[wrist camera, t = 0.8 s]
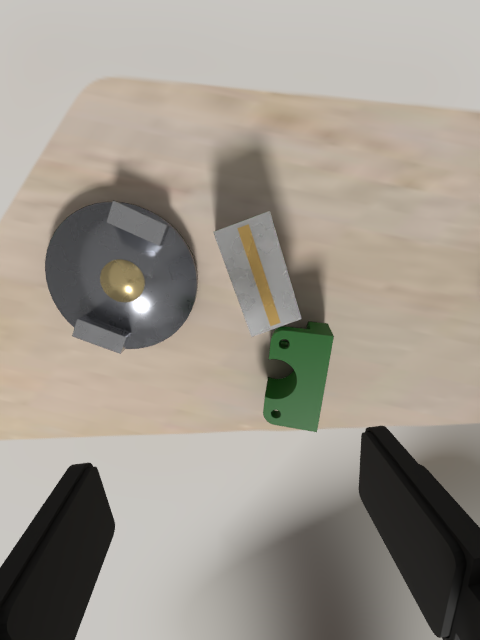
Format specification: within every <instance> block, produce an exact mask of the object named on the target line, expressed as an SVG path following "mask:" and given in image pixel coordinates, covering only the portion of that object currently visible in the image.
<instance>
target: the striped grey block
mask: <svg viewBox="0 0 480 640" xmlns="http://www.w3.org/2000/svg"><path fill="white" fill-rule="evenodd" d="M213 233H214V235H215V238H216V241H217V243H218V246H219V249H220V252H221V254H222V257H223V260H224V263H225V265H226V268H227V271H228V274H229V276H230V279H231V282H232V284H233V287H234V290H235V293H236V295H237V298H238V301H239V304H240V306H241V309H242V312H243V315H244V317H245V320H246V323H247V325H248V328H249V331H250V334H251V336H255V335H258V334H261V333H264V332H267V331H269V330H272V329H275V328H278V327H281V326H284V325H286V324H289V323H292V322H295V321H298V320H300V319H302V318H301V315H300V312H299V308H298V305H297V301H296V298H295V295H294V291H293V288H292V284H291V281H290V278H289V274H288V271H287V268H286V264H285V261H284V257H283V254H282V251H281V247H280V244H279V240H278V237H277V234H276V230H275V227H274V224H273V220H272V217H271V213H270V211H268V212H265V213H263V214H260V215H257V216H255V217H252V218H249V219H247V220H244V221H241V222H239V223H236V224H233V225H231V226H228V227H225V228H223V229H220V230H217V231H215V232H213Z"/></svg>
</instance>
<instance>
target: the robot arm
mask: <svg viewBox="0 0 480 640" xmlns="http://www.w3.org/2000/svg"><path fill="white" fill-rule="evenodd" d="M361 437H362V438H361V456H360V475H359V476H360V477H359V494H360V497H361V500H362V502H363V504H364V506H365V508H366V510H367V511H368V513H369V515H370V517H371V519H372V521H373V523H374V524H375V526H376V528H377V530H378V532H379V534H380V536H381V537H382V539H383V541H384V543H385V545H386V547H387V548H388V550H389V552H390V554H391V556H392V558H393V560H394V561H395V563H396V565H397V567H398V569H399V570H400V573H401V574H402V576H403V578H404V580H405V582H406V584H407V586H408V587H409V589H410V591H411V593H412V595H413V597H414V599H415V600H416V602H417V604H418V606H419V608H420V610H421V612H422V613H423V615H424V617H425V619H426V621H427V623H428V625H429V626H430V628H431V630H432V631H433V633H434V634H435V635H436V636H437V637H439V638H440V637H442V638H443V640H480V528H479V527H478V525H477V524H476V523H475V522H474V521H473V520H472V519H471V518H470V517H469V515H468V514H466V512H465V511H464V510H463V509H462V508H461V507H460V505H459V504H458V503H457V502H456V501H455V500H454V499H453V498H452V497H451V495H450V494H449V493H448V492H447V491H446V490H445V489H444V488H443V487H442V485H441V484H440V483H439V482H438V481H437V480H436V479H435V478H434V477H433V475H432V474H431V473H430V472H429V471H428V470H427V469H426V468H425V467H424V466H422V465H420V464H418V463H417V462H416V461H415V459H414V458H413V457H412V456H411V455H410V454H409V453H408V451H407V450H406V449H405V448H404V447H403V446H402V445H401V444H400V442H398V440H397V439H396V438H395V437H394V436H393V435H392V433H391V432H390V431H389V430H388V429H387V428H386V427H385V426H376V427H368V428H366V431H365V433H362V436H361ZM114 530H115V522H114V518H113V515H112V512H111V509H110V506H109V503H108V500H107V497H106V494H105V491H104V488H103V484H102V481H101V478H100V475H99V472H98V469H97V467H93V465H92V464H91V463H83V464H75V465H71V466H70V467H69V468H68V469H67V471H66V472H65V474H64V475H63V477H62V478H61V480H60V481H59V482H58V484H57V485H56V487H55V488H54V490H53V491H52V493H51V494H50V496H49V497H48V499H47V500H46V502H45V503H44V504H43V506H42V507H41V509H40V511H39V512H38V513H37V515H36V516H35V518H34V519H33V520H32V522H31V523H30V525H29V526H28V528H27V529H26V531H25V532H24V534H23V535H22V537H21V538H20V540H19V541H18V542H17V544H16V545H15V547H14V548H13V550H12V551H11V553H10V554H9V556H8V557H7V559H6V560H5V562H4V563H3V564H2V566H1V567H0V640H75V637H76V635H77V632H78V629H79V627H80V623H81V621H82V618H83V616H84V613H85V610H86V608H87V605H88V602H89V600H90V597H91V594H92V591H93V589H94V586H95V583H96V581H97V578H98V575H99V573H100V570H101V567H102V565H103V562H104V559H105V556H106V554H107V551H108V548H109V546H110V543H111V540H112V538H113V535H114Z"/></svg>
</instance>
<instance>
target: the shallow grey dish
mask: <svg viewBox="0 0 480 640" xmlns="http://www.w3.org/2000/svg"><path fill="white" fill-rule="evenodd" d="M45 272H46V280H47V284H48V288H49V291H50V294H51V296H52V299H53V301H54V303H55V304H56V306H57V308H58V309H59V311H60V312H61V314H62V315H63V316H64V317H65V319H66V320H67V321H68V322H69V323H70V324H71V325H72V326H73V327H74V332H73V335H72V336H73V337H76V338H78V339H81V340H84V341H87V342H89V343H92V344H95V345H98V346H100V347H103V348H106V349H109V350H111V351H114V352H117V353H120V354H121V353H122V352H123V351H124V350H125V349H138V348H144V347H148V346H152V345H155V344H157V343H159V342H162V341H164V340H165V339H167V338H168V337H170V336H171V335H173V334H174V333H175V332H176V331H177V330H178V329H179V328H180V327H181V326H182V325H183V323H184V322H185V321H186V319H187V318H188V316H189V314H190V312H191V310H192V308H193V305H194V302H195V299H196V295H197V288H198V276H197V269H196V264H195V261H194V258H193V255H192V253H191V251H190V249H189V247H188V245H187V243H186V242H185V240H184V239H183V237H182V236H181V235H180V234H179V232H178V231H177V230H176V229H175V228H174V227H173V226H172V225H171V224H170V223H169V222H167V221H166V220H164V219H163V218H162V217H160V216H158V215H157V214H155V213H153V212H151V211H149V210H146V209H144V208H141V207H139V206H136V205H132V204H128V203H121V202H116V201H113V202H103V203H97V204H92V205H89V206H86V207H84V208H82V209H80V210H78V211H76V212H74V213H73V214H72V215H70V216H69V217H67V218H66V219H65V220H64V221H63V222H62V223H61V224H60V226H59V227H58V228H57V230H56V231H55V233H54V235H53V237H52V238H51V240H50V243H49V246H48V249H47V254H46V260H45Z"/></svg>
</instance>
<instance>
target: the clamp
mask: <svg viewBox="0 0 480 640" xmlns="http://www.w3.org/2000/svg"><path fill="white" fill-rule="evenodd" d="M333 337H334V336H333V334H332V332H331V330H330V328H329V326H328V324H326V323H317V322H308V324H307V329H302V328H294V327H279V328H277V329H276V330H275V331H274V332H273V334H272V337H271V343H270V353H269V359H278V360H282V361H284V362H286V363H288V364H289V365H290V366H291V367H292V368H293V369H294V371H293V372H292V373H291V374H290V375H289V376H287V377H285V378H281V379H274V378H270V377H268V381H267V387H266V393H265V401H264V410H263V415H264V418H265V419H266V420H267V421H268V422H269V423H271V424H274V425H279V426H285V427H291V428H296V429H302V430H308V431H314V432H317V428H318V422H319V417H320V411H321V405H322V400H323V394H324V388H325V383H326V377H327V371H328V366H329V360H330V354H331V349H332V343H333ZM282 339H287V340H288V341H281V340H282ZM275 410H279V411H275Z"/></svg>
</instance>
